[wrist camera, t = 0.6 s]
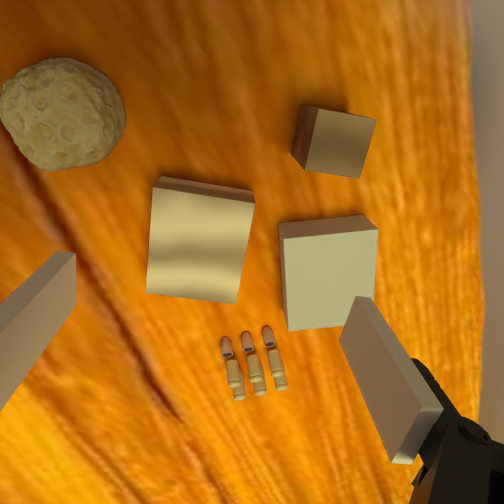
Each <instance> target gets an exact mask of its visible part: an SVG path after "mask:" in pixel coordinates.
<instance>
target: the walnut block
mask: <svg viewBox="0 0 504 504" xmlns="http://www.w3.org/2000/svg"><path fill="white" fill-rule="evenodd" d="M376 121H377V119H374V118H369V117H365V116H360V115H356V114H351V113H347V112H341V111H336V110H330V109H324V108H319V107H313V106H308V105H302V104H301V107H300V112H299V117H298V122H297V127H296V131H295V136H294V141H293V146H292V151H291V155H292V156H293V157H294V158H295V160H296V161H297V162H298V163H299V164H300V165H301V166H302V168H303V169H304V170H307V171H314V172H320V173H326V174H333V175H339V176H345V177H352V178H358V179H360V175H361V172H362V169H363V165H364V162H365V158H366V155H367V152H368V148H369V145H370V141H371V138H372V134H373V131H374V128H375V124H376Z"/></svg>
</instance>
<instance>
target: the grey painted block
mask: <svg viewBox="0 0 504 504" xmlns="http://www.w3.org/2000/svg"><path fill="white" fill-rule="evenodd" d="M278 229H279V246H280V263H281V279H282V296H283V310H284V314H285V318H286V323H287V327H288V331H296V330H306V329H315V328H325V327H334V326H344V325H345V323H346V320H347V318H348V315H349V312H350V310H351V307H352V304H353V302H354V299H355V296H362V297H369V298H371V299H372V301H373V299H374V285H375V270H376V256H377V242H378V228H377V227H376V226H374V225H373V224H372V223H371V222H370V221H369V220H368V219H367V218H366V217H365V216H364V215H354V216H344V217H335V218H325V219H315V220H305V221H295V222H285V223H278Z"/></svg>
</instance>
